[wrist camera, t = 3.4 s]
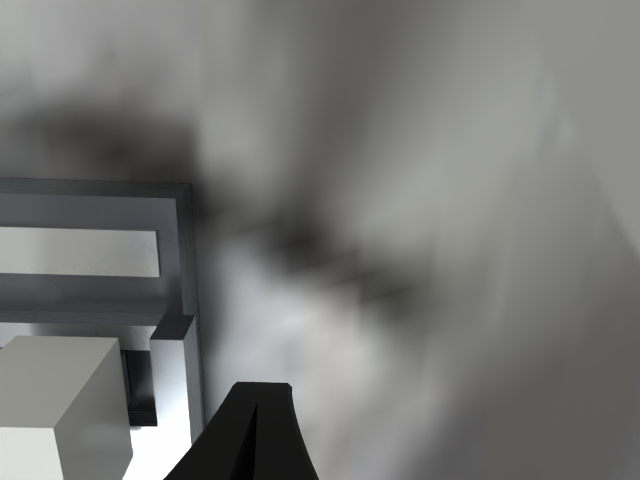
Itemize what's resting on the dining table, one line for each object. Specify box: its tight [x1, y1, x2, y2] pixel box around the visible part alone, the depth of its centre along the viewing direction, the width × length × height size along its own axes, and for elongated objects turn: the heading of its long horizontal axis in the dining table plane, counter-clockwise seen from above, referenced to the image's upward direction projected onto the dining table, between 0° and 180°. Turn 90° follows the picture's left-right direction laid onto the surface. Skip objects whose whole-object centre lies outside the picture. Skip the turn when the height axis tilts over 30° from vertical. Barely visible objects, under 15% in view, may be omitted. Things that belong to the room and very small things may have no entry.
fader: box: [0, 335, 133, 480], centre depth 11 cm, size 2×4×4 cm, turn 178°
